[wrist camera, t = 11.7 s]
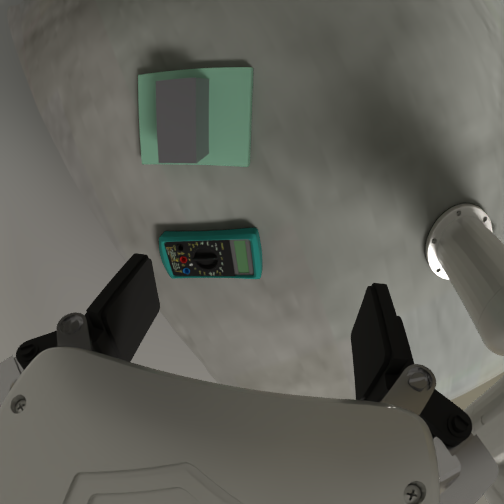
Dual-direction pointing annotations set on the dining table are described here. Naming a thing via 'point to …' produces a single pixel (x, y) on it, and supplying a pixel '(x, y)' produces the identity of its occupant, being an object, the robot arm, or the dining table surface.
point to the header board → (220, 114)
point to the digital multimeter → (212, 253)
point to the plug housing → (182, 120)
